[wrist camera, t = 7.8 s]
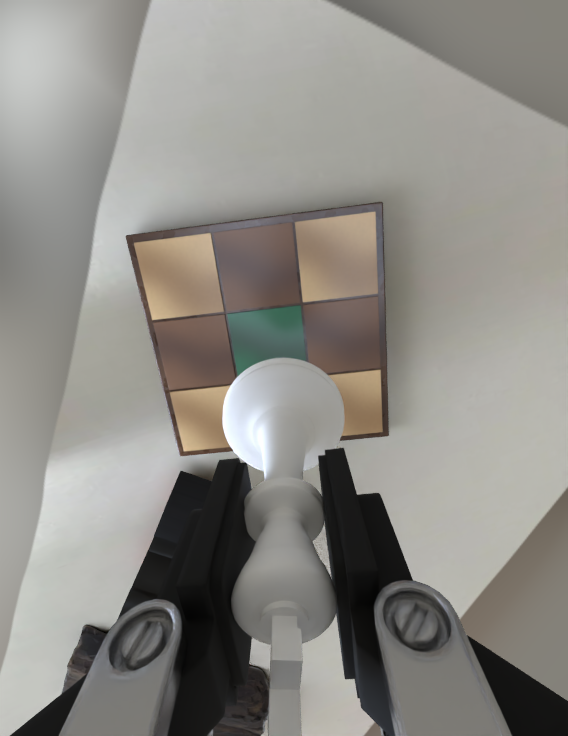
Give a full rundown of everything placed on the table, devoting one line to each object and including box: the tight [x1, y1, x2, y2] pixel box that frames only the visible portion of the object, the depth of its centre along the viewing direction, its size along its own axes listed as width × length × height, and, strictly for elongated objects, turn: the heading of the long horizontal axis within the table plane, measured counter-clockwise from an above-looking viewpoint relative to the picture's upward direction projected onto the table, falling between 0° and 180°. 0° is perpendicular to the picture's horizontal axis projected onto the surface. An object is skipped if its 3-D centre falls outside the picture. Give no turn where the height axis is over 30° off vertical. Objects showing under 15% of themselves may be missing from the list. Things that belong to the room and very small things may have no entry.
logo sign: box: [117, 471, 212, 621], centre depth 30 cm, size 18×4×11 cm, turn 158°
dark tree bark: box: [62, 625, 269, 736], centre depth 41 cm, size 25×4×15 cm
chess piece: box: [222, 358, 344, 736], centre depth 9 cm, size 5×5×10 cm
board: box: [126, 202, 389, 456], centre depth 28 cm, size 19×19×1 cm
